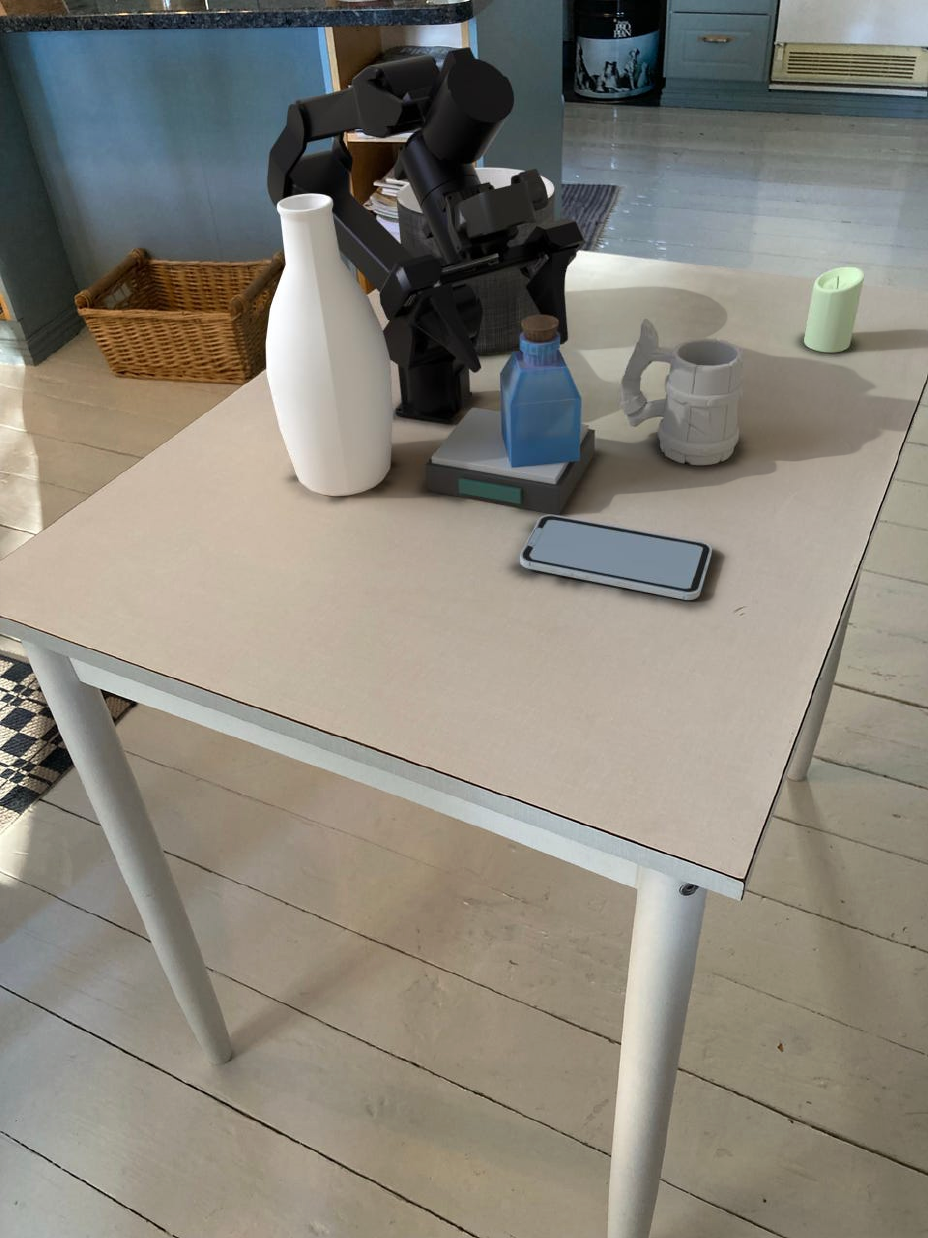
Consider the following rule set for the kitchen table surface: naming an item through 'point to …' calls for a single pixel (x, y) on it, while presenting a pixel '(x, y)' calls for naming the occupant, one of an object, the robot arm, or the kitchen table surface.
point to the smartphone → (617, 556)
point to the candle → (833, 309)
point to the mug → (688, 396)
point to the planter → (497, 293)
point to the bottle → (327, 359)
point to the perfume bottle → (539, 399)
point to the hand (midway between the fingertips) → (522, 356)
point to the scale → (501, 467)
